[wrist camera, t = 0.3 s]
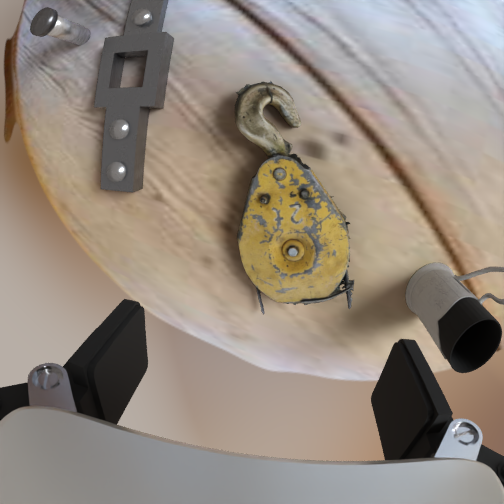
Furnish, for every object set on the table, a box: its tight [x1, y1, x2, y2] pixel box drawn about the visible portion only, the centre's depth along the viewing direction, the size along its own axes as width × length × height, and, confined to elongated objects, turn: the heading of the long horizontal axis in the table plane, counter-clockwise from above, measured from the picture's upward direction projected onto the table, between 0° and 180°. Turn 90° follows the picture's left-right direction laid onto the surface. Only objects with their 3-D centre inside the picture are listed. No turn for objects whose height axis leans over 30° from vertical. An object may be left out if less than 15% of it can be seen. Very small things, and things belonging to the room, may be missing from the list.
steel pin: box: [30, 8, 90, 45], centre depth 29 cm, size 4×4×10 cm
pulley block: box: [235, 81, 354, 315], centre depth 37 cm, size 14×6×30 cm
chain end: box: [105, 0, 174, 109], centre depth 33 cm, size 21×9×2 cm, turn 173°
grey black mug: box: [405, 263, 504, 373], centre depth 34 cm, size 9×14×15 cm, turn 138°
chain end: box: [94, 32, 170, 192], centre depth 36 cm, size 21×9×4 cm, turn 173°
